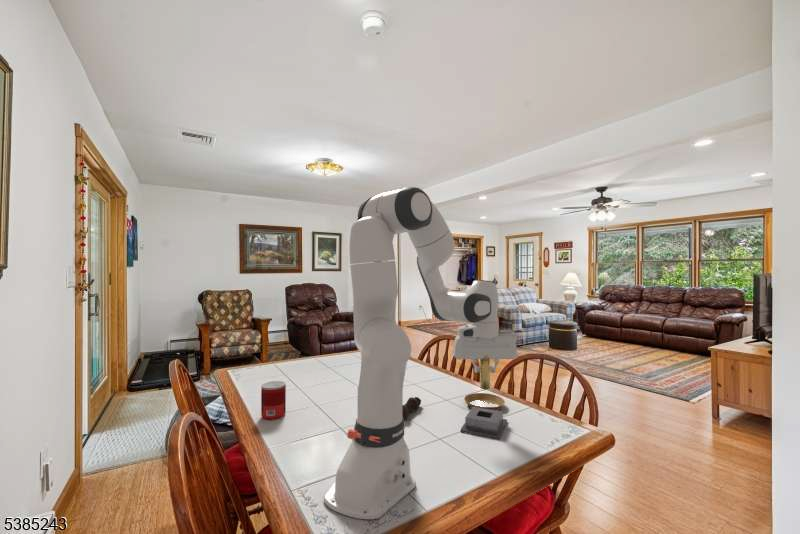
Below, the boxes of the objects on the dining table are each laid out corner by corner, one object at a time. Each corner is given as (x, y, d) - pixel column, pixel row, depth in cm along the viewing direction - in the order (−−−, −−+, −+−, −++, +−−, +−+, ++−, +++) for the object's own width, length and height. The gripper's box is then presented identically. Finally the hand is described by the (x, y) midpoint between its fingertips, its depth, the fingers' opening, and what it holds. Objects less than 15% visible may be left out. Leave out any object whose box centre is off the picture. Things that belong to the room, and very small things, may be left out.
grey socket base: (499, 439, 110) (499, 426, 110) (460, 431, 115) (460, 419, 115) (507, 421, 123) (507, 409, 123) (471, 415, 128) (471, 404, 128)
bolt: (419, 411, 136) (401, 425, 123) (408, 402, 138) (390, 415, 125) (426, 398, 135) (410, 411, 122) (416, 390, 137) (398, 401, 124)
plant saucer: (513, 411, 132) (513, 404, 132) (477, 416, 127) (477, 409, 127) (489, 397, 146) (489, 391, 146) (457, 402, 141) (457, 395, 141)
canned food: (289, 415, 127) (289, 384, 127) (268, 422, 121) (268, 389, 121) (278, 409, 132) (278, 379, 132) (257, 416, 127) (257, 384, 127)
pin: (491, 390, 116) (490, 356, 116) (478, 389, 118) (477, 355, 118) (491, 386, 120) (491, 353, 120) (479, 385, 121) (479, 352, 121)
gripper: (513, 328, 122) (514, 369, 122) (452, 328, 122) (452, 369, 122) (519, 331, 116) (520, 375, 116) (455, 331, 116) (455, 375, 116)
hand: (485, 372), depth 119 cm, fingers closed on pin, 3 cm apart
